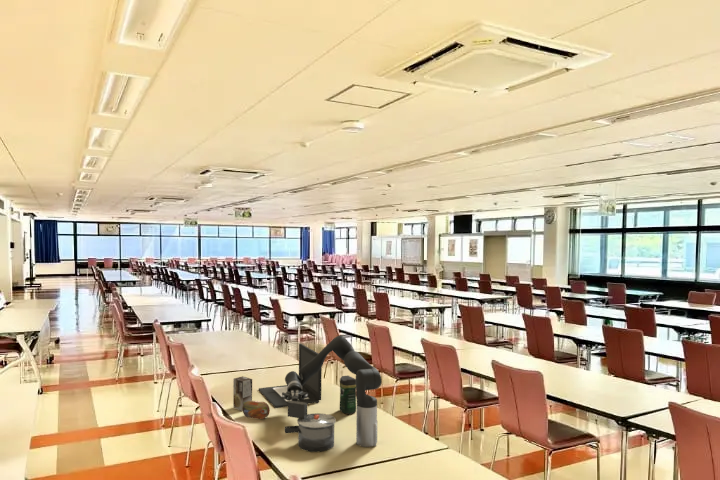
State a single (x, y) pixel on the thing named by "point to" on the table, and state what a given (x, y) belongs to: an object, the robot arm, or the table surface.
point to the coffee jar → (347, 394)
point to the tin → (256, 409)
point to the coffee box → (241, 391)
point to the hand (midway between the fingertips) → (294, 400)
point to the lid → (309, 416)
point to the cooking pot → (313, 437)
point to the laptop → (311, 384)
